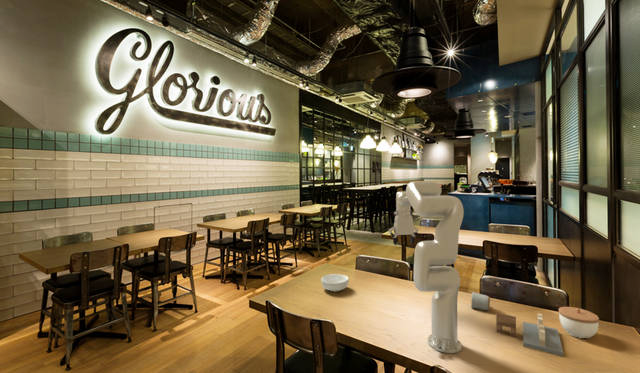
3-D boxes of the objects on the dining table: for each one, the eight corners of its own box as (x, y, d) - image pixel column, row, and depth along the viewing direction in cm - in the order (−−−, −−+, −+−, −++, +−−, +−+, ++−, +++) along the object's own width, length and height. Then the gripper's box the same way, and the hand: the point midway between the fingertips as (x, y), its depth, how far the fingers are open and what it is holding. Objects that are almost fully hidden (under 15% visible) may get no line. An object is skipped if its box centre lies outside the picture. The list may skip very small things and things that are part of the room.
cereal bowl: (331, 282, 185) (331, 272, 185) (353, 288, 176) (353, 276, 175) (315, 291, 171) (315, 279, 171) (339, 297, 162) (338, 285, 162)
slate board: (563, 356, 105) (563, 352, 105) (523, 346, 112) (523, 342, 112) (557, 332, 121) (557, 329, 121) (522, 324, 128) (522, 321, 128)
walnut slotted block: (515, 337, 118) (515, 320, 118) (496, 332, 122) (496, 316, 122) (516, 333, 121) (515, 316, 121) (496, 328, 125) (496, 312, 125)
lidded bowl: (551, 326, 126) (551, 302, 126) (580, 326, 126) (580, 302, 126) (575, 342, 114) (575, 315, 113) (608, 342, 113) (608, 315, 113)
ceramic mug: (489, 313, 139) (489, 298, 139) (471, 309, 144) (471, 294, 144) (489, 305, 148) (489, 291, 148) (472, 302, 153) (472, 288, 153)
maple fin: (545, 346, 109) (545, 332, 109) (539, 345, 110) (539, 331, 110) (542, 326, 123) (542, 314, 123) (537, 325, 124) (537, 313, 124)
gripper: (390, 214, 152) (391, 246, 153) (421, 214, 154) (421, 245, 155) (386, 213, 160) (386, 243, 160) (415, 212, 162) (415, 242, 162)
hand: (403, 244), depth 157 cm, fingers open, 9 cm apart
